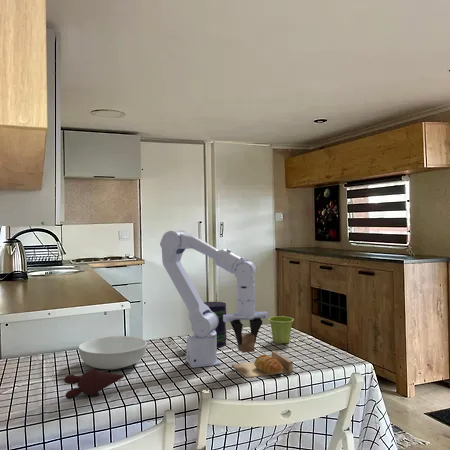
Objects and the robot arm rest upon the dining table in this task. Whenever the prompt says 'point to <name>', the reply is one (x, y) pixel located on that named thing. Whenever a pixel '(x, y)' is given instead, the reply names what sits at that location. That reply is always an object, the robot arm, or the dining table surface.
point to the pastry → (268, 364)
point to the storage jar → (219, 310)
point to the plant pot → (281, 328)
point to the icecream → (90, 382)
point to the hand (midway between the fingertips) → (246, 343)
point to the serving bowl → (112, 351)
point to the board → (252, 371)
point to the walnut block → (247, 343)
